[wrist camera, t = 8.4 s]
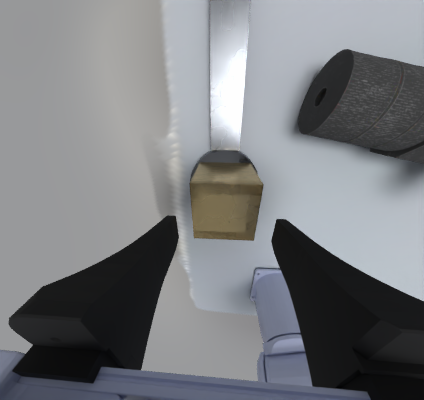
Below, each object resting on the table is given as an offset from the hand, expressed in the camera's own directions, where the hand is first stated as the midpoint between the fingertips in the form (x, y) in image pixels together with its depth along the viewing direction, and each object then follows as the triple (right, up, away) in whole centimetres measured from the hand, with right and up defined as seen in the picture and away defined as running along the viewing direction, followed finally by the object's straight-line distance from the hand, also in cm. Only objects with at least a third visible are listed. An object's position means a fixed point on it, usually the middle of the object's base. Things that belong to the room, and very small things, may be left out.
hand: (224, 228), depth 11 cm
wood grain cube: (0, +4, +7) cm, 8 cm away
